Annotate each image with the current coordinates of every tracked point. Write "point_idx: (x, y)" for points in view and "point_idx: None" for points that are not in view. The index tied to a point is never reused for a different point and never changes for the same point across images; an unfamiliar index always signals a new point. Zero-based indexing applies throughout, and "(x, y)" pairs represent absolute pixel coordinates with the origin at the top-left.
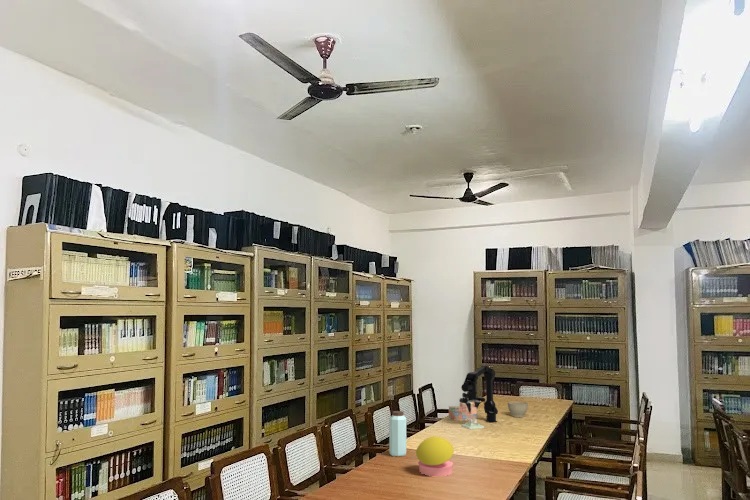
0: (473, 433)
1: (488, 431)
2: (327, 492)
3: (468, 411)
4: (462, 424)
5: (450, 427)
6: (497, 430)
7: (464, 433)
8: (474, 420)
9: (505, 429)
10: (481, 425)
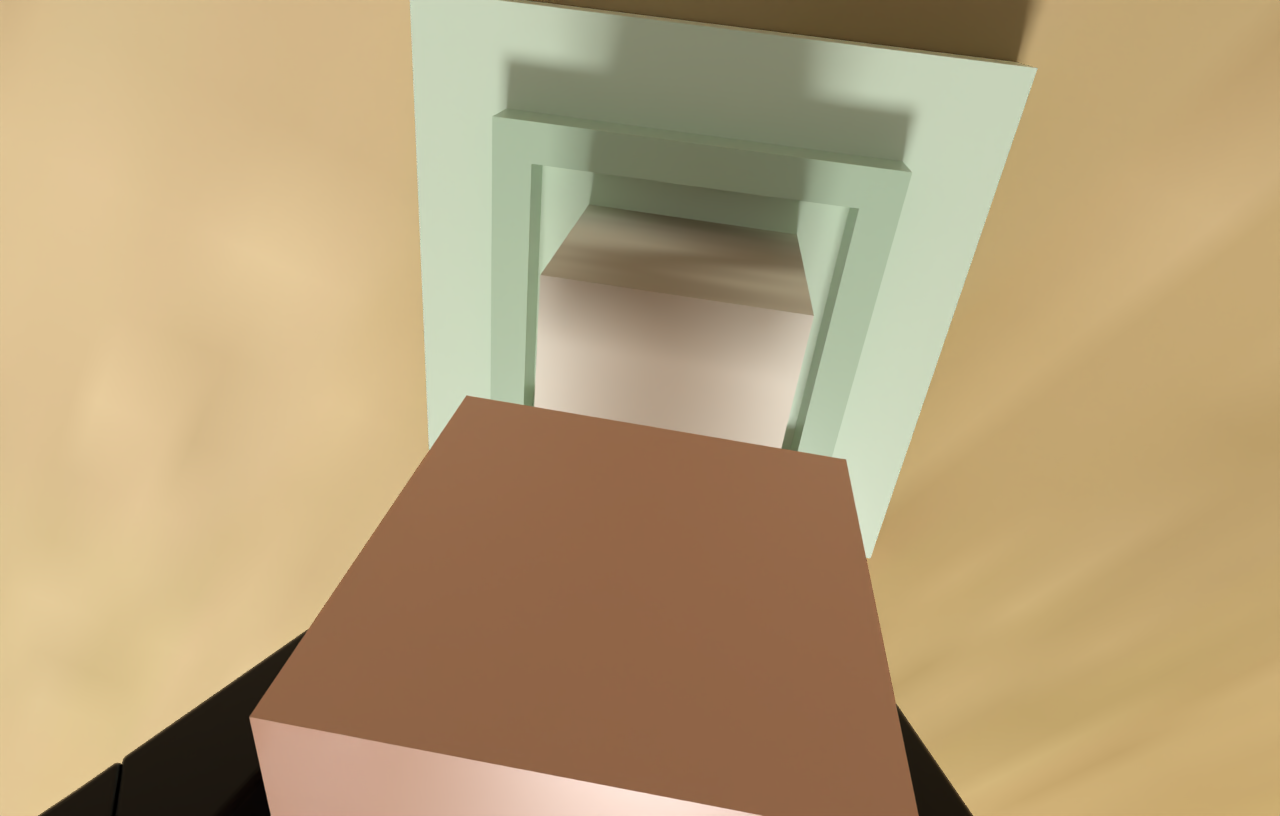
0: None
1: None
2: None
3: (429, 470)
4: (429, 51)
5: (3, 45)
6: None
7: (180, 672)
8: None
9: (1160, 802)
10: (897, 458)
